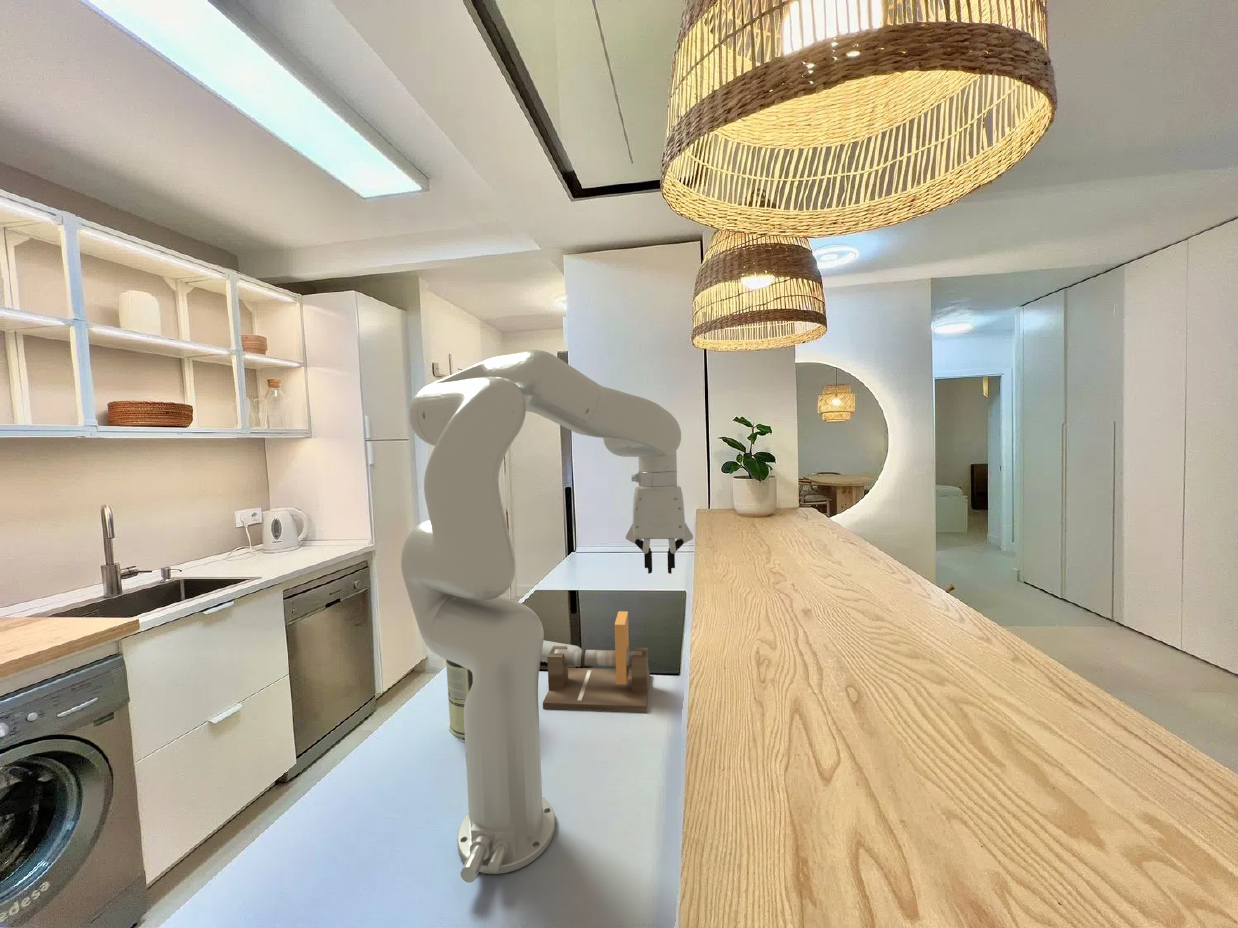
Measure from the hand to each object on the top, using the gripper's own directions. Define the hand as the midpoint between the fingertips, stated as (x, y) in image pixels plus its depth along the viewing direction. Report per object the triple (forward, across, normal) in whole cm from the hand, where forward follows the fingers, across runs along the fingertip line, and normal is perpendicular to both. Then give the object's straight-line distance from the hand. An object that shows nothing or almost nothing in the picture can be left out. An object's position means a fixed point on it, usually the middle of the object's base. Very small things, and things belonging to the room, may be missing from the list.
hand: (659, 570), depth 96 cm
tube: (+26, -30, +14) cm, 42 cm away
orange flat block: (+22, -8, 0) cm, 23 cm away
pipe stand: (+25, -13, 0) cm, 28 cm away
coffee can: (+25, -34, -12) cm, 44 cm away
